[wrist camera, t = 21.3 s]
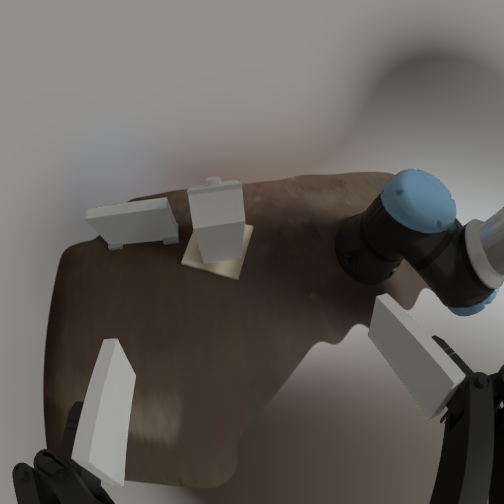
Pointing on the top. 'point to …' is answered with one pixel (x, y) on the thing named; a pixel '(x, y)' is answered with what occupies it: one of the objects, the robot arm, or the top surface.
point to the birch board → (220, 268)
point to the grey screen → (134, 222)
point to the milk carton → (218, 219)
